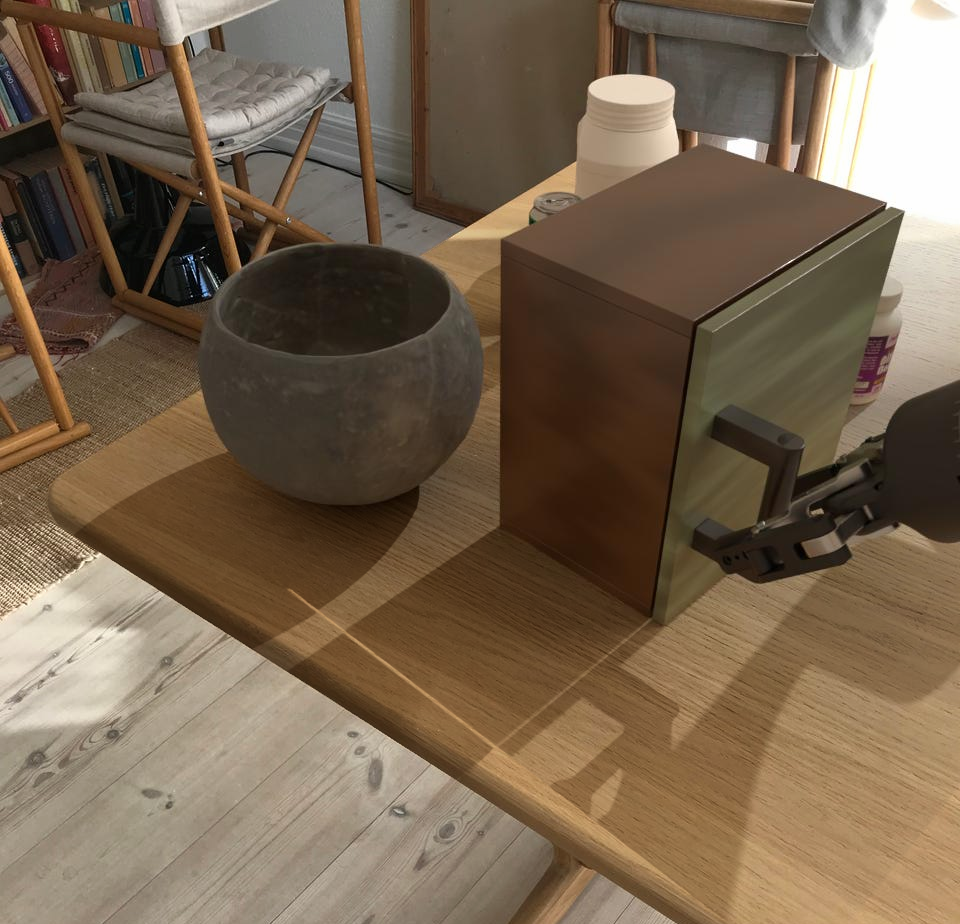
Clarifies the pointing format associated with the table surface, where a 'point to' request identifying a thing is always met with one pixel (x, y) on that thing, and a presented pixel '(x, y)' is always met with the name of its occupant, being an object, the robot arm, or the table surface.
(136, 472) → the table surface
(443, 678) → the table surface
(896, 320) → the pill bottle
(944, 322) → the table surface
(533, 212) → the soda can
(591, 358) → the cupboard
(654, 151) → the jar
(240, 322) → the bowl
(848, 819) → the table surface
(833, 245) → the door
